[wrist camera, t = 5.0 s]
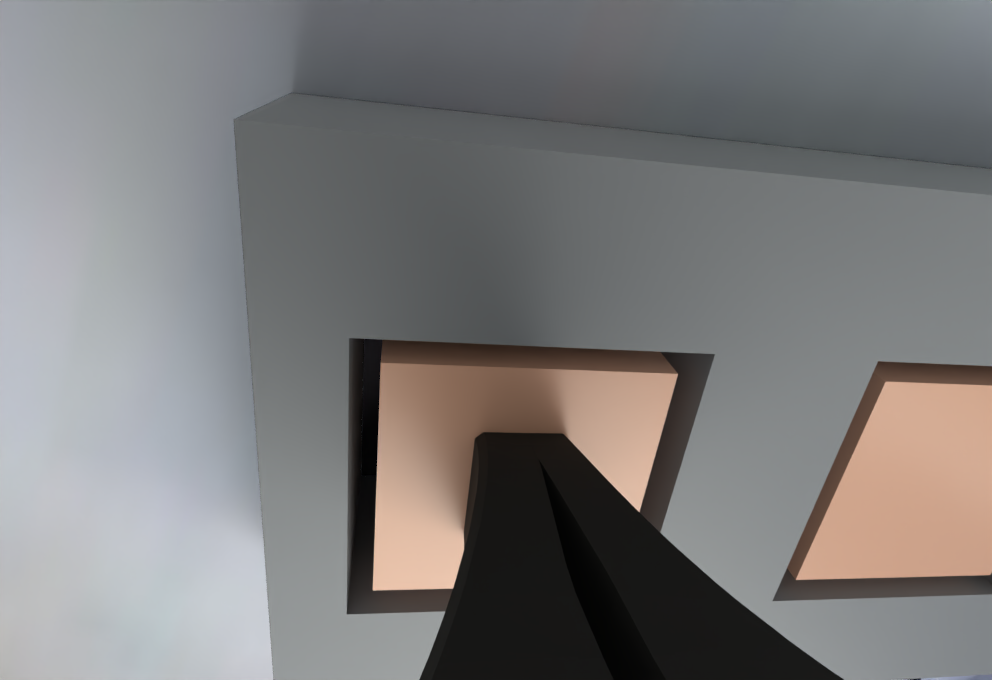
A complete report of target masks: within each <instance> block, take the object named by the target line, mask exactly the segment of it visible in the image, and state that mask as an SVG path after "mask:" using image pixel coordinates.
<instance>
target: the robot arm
mask: <svg viewBox="0 0 992 680" xmlns="http://www.w3.org/2000/svg"><path fill="white" fill-rule="evenodd" d="M419 680H844V679H843V678H841V677H840V676H838V675H837V674H835V673H834V672H832V671H831V670H829V669H828V668H826V667H825V666H824V665H822V664H821V663H819V662H818V661H817V660H815V659H814V658H812V657H811V656H810V655H808V654H807V653H805V652H804V651H803V650H801V649H800V648H799V647H797V646H796V645H794V644H793V643H792V642H790V641H789V640H788V639H786V638H785V637H784V636H783V635H781V634H780V633H779V632H777V631H776V630H775V629H774V628H772V627H771V626H770V625H768V624H767V623H766V622H765V621H763V620H762V619H761V618H759V617H758V616H757V615H755V614H754V613H753V612H752V611H750V610H749V609H748V608H746V607H745V606H744V605H743V604H741V603H740V602H739V601H738V600H736V599H735V598H734V597H733V596H731V595H730V594H729V593H728V592H727V591H725V590H724V589H723V588H722V587H721V586H719V585H718V584H717V583H716V582H715V581H713V580H712V579H711V578H710V577H709V576H708V575H707V574H706V573H704V572H703V571H702V570H701V569H700V568H699V567H698V566H697V565H695V564H694V563H693V562H692V561H691V560H690V559H689V558H687V557H686V556H685V555H684V554H683V553H682V552H681V551H680V550H678V549H677V548H676V547H675V546H674V545H673V544H672V543H671V542H670V541H669V540H668V539H667V538H666V537H664V536H663V535H662V534H661V533H660V532H659V531H658V530H657V529H656V528H655V527H654V526H653V525H652V524H651V523H650V522H649V521H648V520H647V519H646V518H645V517H644V516H643V515H642V514H641V513H640V512H639V511H638V510H637V509H636V508H635V507H634V506H632V505H631V504H630V503H629V502H628V500H627V499H626V498H625V497H624V496H623V495H622V494H621V493H620V492H619V491H618V490H617V489H616V488H615V487H614V486H613V485H612V484H611V483H610V482H609V481H608V480H607V479H606V478H605V477H604V476H603V475H602V474H601V473H600V472H599V471H598V469H597V468H596V467H595V466H594V465H593V464H592V463H591V462H590V461H589V460H588V459H587V458H586V457H585V456H584V455H583V454H582V452H581V451H580V450H579V449H578V448H577V447H576V446H575V445H574V444H573V443H572V442H571V441H570V440H569V439H568V438H567V437H566V436H565V435H564V434H563V433H503V432H483V433H481V434H480V435H479V436H477V437H476V438H475V441H474V450H473V458H472V467H471V475H470V484H469V492H468V500H467V509H466V517H465V526H464V552H463V555H462V559H461V562H460V566H459V570H458V573H457V577H456V580H455V584H454V587H453V590H452V593H451V596H450V599H449V602H448V605H447V608H446V611H445V614H444V617H443V620H442V622H441V625H440V628H439V631H438V633H437V636H436V639H435V641H434V644H433V647H432V650H431V652H430V655H429V657H428V660H427V662H426V665H425V667H424V669H423V672H422V674H421V677H420V679H419ZM921 680H992V674H989V675H972V676H954V677H937V678H921Z"/></svg>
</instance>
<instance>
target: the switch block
mask: <svg viewBox="0 0 992 680" xmlns="http://www.w3.org/2000/svg"><path fill="white" fill-rule="evenodd" d="M234 132H235V146H236V160H237V174H238V188H239V202H240V216H241V230H242V244H243V258H244V272H245V286H246V300H247V314H248V328H249V342H250V356H251V370H252V385H253V399H254V413H255V427H256V441H257V455H258V469H259V483H260V497H261V511H262V525H263V539H264V553H265V567H266V581H267V595H268V609H269V623H270V637H271V651H272V665H273V679H274V680H419V679H420V677H421V674H422V672H423V669H424V667H425V665H426V662H427V660H428V657H429V655H430V652H431V650H432V647H433V644H434V641H435V639H436V636H437V633H438V631H439V628H440V625H441V622H442V620H443V617H444V614H445V611H446V608H447V605H448V602H449V599H450V596H451V593H452V590H453V589H414V590H374V591H373V569H374V540H375V511H376V482H377V476H361V470H362V422H363V374H364V339H381V340H404V341H427V342H449V343H472V344H495V345H518V346H541V347H564V348H587V349H610V350H633V351H655V352H661V353H662V355H663V356H664V357H665V358H666V359H667V361H668V362H669V363H670V364H671V366H672V367H673V368H674V369H675V371H676V372H677V373H678V376H677V380H676V384H675V387H674V391H673V394H672V398H671V401H670V405H669V408H668V412H667V416H666V419H665V423H664V426H663V430H662V433H661V437H660V441H659V444H658V448H657V451H656V455H655V458H654V462H653V466H652V469H651V473H650V476H649V480H648V483H647V487H646V490H645V494H644V498H643V501H642V505H641V508H640V513H641V514H642V515H643V516H644V517H645V518H646V519H647V520H648V521H649V522H650V523H651V524H652V525H653V526H654V527H655V528H656V529H657V530H658V531H659V532H660V533H661V534H662V535H663V536H664V537H666V538H667V539H668V540H669V541H670V542H671V543H672V544H673V545H674V546H675V547H676V548H677V549H678V550H680V551H681V552H682V553H683V554H684V555H685V556H686V557H687V558H689V559H690V560H691V561H692V562H693V563H694V564H695V565H697V566H698V567H699V568H700V569H701V570H702V571H703V572H704V573H706V574H707V575H708V576H709V577H710V578H711V579H712V580H713V581H715V582H716V583H717V584H718V585H719V586H721V587H722V588H723V589H724V590H725V591H727V592H728V593H729V594H730V595H731V596H733V597H734V598H735V599H736V600H738V601H739V602H740V603H741V604H743V605H744V606H745V607H746V608H748V609H749V610H750V611H752V612H753V613H754V614H755V615H757V616H758V617H759V618H761V619H762V620H763V621H765V622H766V623H767V624H768V625H770V626H771V627H772V628H774V629H775V630H776V631H777V632H779V633H780V634H781V635H783V636H784V637H785V638H786V639H788V640H789V641H790V642H792V643H793V644H794V645H796V646H797V647H799V648H800V649H801V650H803V651H804V652H805V653H807V654H808V655H810V656H811V657H812V658H814V659H815V660H817V661H818V662H819V663H821V664H822V665H824V666H825V667H826V668H828V669H829V670H831V671H832V672H834V673H835V674H837V675H838V676H840V677H841V678H843V679H844V680H902V679H919V678H937V677H954V676H972V675H989V674H992V573H991V574H990V575H976V576H936V577H895V578H855V579H814V580H795V578H794V577H793V576H792V574H791V573H790V571H789V570H788V569H787V567H788V565H789V562H790V560H791V558H792V555H793V553H794V551H795V549H796V546H797V544H798V542H799V540H800V537H801V535H802V533H803V531H804V528H805V526H806V524H807V521H808V519H809V517H810V515H811V512H812V510H813V508H814V506H815V503H816V501H817V499H818V497H819V494H820V492H821V490H822V487H823V485H824V483H825V481H826V478H827V476H828V474H829V472H830V469H831V467H832V465H833V462H834V460H835V458H836V456H837V453H838V451H839V449H840V447H841V444H842V442H843V440H844V438H845V435H846V433H847V431H848V428H849V426H850V424H851V422H852V419H853V417H854V415H855V413H856V410H857V408H858V406H859V404H860V401H861V399H862V397H863V394H864V392H865V390H866V388H867V385H868V383H869V381H870V379H871V376H872V374H873V372H874V369H875V367H876V365H877V363H878V361H884V362H907V363H930V364H953V365H976V366H992V169H988V168H979V167H970V166H960V165H951V164H942V163H933V162H924V161H914V160H905V159H896V158H887V157H877V156H868V155H859V154H850V153H840V152H831V151H822V150H813V149H804V148H794V147H785V146H776V145H767V144H757V143H748V142H739V141H730V140H721V139H711V138H702V137H693V136H684V135H674V134H665V133H656V132H647V131H637V130H628V129H619V128H610V127H601V126H591V125H582V124H573V123H564V122H554V121H545V120H536V119H527V118H518V117H508V116H499V115H490V114H481V113H471V112H462V111H453V110H444V109H434V108H425V107H416V106H407V105H398V104H388V103H379V102H370V101H361V100H351V99H342V98H333V97H324V96H315V95H305V94H296V93H290V94H288V95H286V96H283V97H281V98H279V99H277V100H275V101H273V102H270V103H268V104H266V105H264V106H262V107H260V108H257V109H255V110H253V111H251V112H249V113H247V114H244V115H242V116H240V117H238V118H236V119H234Z"/></svg>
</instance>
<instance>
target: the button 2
mask: <svg viewBox="0 0 992 680" xmlns="http://www.w3.org/2000/svg"><path fill="white" fill-rule="evenodd" d="M787 569H788V570H789V571H790V573H791V574H792V576H793V577H794V578H795V580H814V579H855V578H895V577H936V576H976V575H990V574H991V573H992V366H976V365H953V364H930V363H907V362H884V361H878V363H877V365H876V367H875V369H874V372H873V374H872V376H871V379H870V381H869V383H868V385H867V388H866V390H865V392H864V394H863V397H862V399H861V401H860V404H859V406H858V408H857V410H856V413H855V415H854V417H853V419H852V422H851V424H850V426H849V428H848V431H847V433H846V435H845V438H844V440H843V442H842V444H841V447H840V449H839V451H838V453H837V456H836V458H835V460H834V462H833V465H832V467H831V469H830V472H829V474H828V476H827V478H826V481H825V483H824V485H823V487H822V490H821V492H820V494H819V497H818V499H817V501H816V503H815V506H814V508H813V510H812V512H811V515H810V517H809V519H808V521H807V524H806V526H805V528H804V531H803V533H802V535H801V537H800V540H799V542H798V544H797V546H796V549H795V551H794V553H793V555H792V558H791V560H790V562H789V565H788V567H787Z"/></svg>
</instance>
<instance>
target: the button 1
mask: <svg viewBox="0 0 992 680" xmlns="http://www.w3.org/2000/svg"><path fill="white" fill-rule="evenodd" d="M677 376H678V373H677V372H676V371H675V369H674V368H673V367H672V366H671V364H670V363H669V362H668V361H667V359H666V358H665V357H664V356H663V355H662V353H661V352H655V351H633V350H610V349H587V348H564V347H541V346H518V345H495V344H472V343H449V342H427V341H404V340H383V341H382V353H381V367H380V396H379V425H378V454H377V482H376V511H375V540H374V569H373V591H374V590H414V589H453V587H454V584H455V580H456V577H457V573H458V570H459V566H460V562H461V559H462V555H463V552H464V526H465V517H466V509H467V500H468V492H469V484H470V475H471V467H472V458H473V450H474V441H475V438H476V437H477V436H479V435H480V434H481V433H483V432H503V433H563V434H564V435H565V436H566V437H567V438H568V439H569V440H570V441H571V442H572V443H573V444H574V445H575V446H576V447H577V448H578V449H579V450H580V451H581V452H582V454H583V455H584V456H585V457H586V458H587V459H588V460H589V461H590V462H591V463H592V464H593V465H594V466H595V467H596V468H597V469H598V471H599V472H600V473H601V474H602V475H603V476H604V477H605V478H606V479H607V480H608V481H609V482H610V483H611V484H612V485H613V486H614V487H615V488H616V489H617V490H618V491H619V492H620V493H621V494H622V495H623V496H624V497H625V498H626V499H627V500H628V502H629V503H630V504H631V505H632V506H634V507H635V508H636V509H637V510H638V511H639V512H640V508H641V505H642V501H643V498H644V494H645V490H646V487H647V483H648V480H649V476H650V473H651V469H652V466H653V462H654V458H655V455H656V451H657V448H658V444H659V441H660V437H661V433H662V430H663V426H664V423H665V419H666V416H667V412H668V408H669V405H670V401H671V398H672V394H673V391H674V387H675V384H676V380H677Z"/></svg>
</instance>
